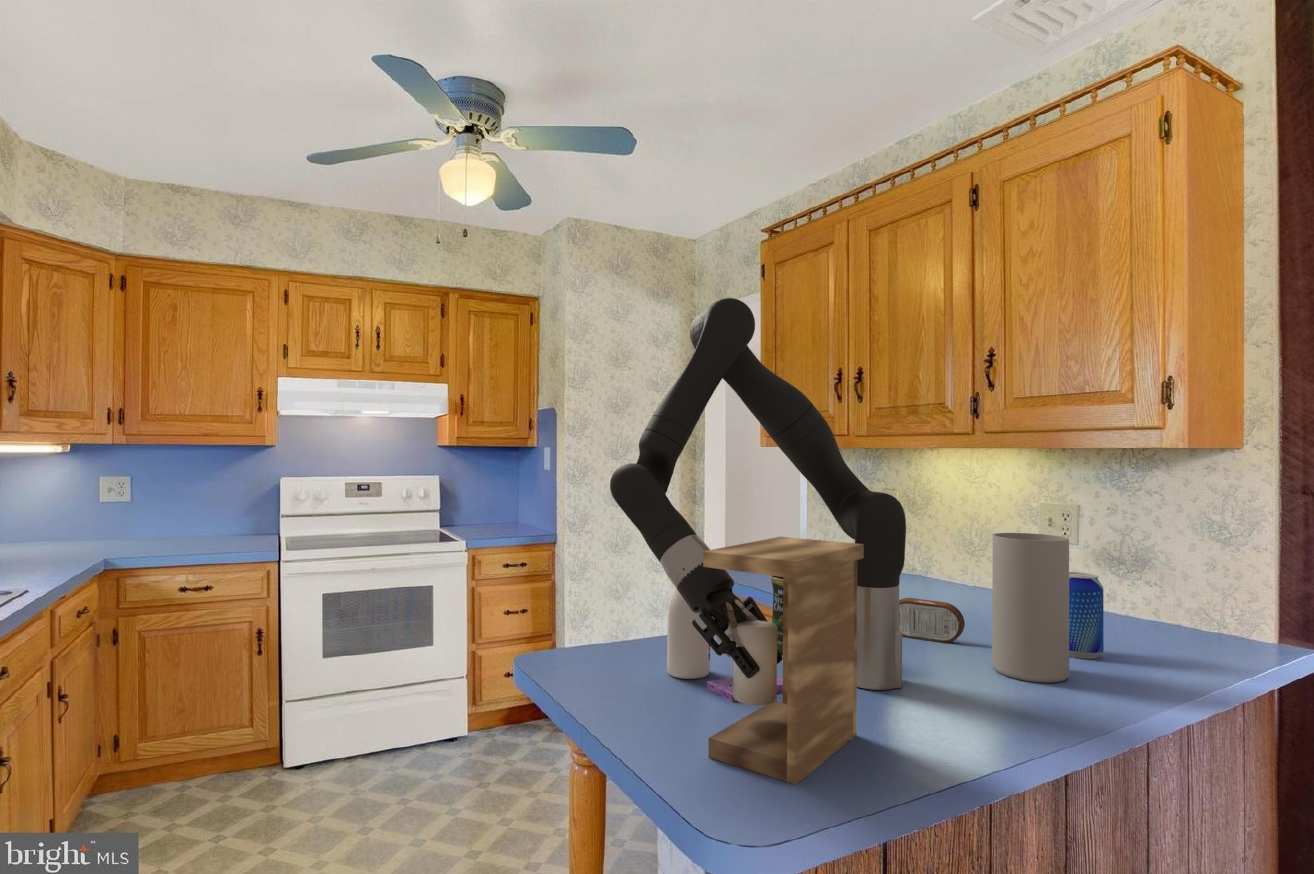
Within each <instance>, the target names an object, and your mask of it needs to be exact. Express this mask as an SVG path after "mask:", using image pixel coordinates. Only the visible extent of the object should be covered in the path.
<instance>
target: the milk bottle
mask: <svg viewBox="0 0 1314 874" xmlns="http://www.w3.org/2000/svg"><path fill="white" fill-rule="evenodd" d="M667 609H668V611H667V631H666V632H667V639H666V640H667V643H666V657H667V658H666V670H667V673H668V675H670V676H671V677H674V678H678V679H684V680H685V679H686V680H696V679H702V678H705V677H707V676H708V675H709V674H710V671H711V647H710V645H709V644H708V643H707V642H706V640H705V639H704V638H703V637H702V636H701V634H700V633H699V632H698V631H697V630H696V628H695V627H694V626H693V625H692V621H693V620H694V619H695V618H696V617H697V616H698V615H699V614H700V613H701V612H700V613H694V612H693V611H692V610H691V609H690V607H689V606H688V604H687V603H686V602H685V600H684V599H683V597H682V596H681V595H680V593H679V592H678V590H677V589H676V587H675V586H674V591H673V592H672V594H671V597H670V599H669V603H668V608H667Z"/></svg>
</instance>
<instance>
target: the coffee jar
mask: <svg viewBox="0 0 1314 874" xmlns="http://www.w3.org/2000/svg"><path fill="white" fill-rule="evenodd" d="M770 581H771V585H772V591H773V593H772V594H773V596H772V597H773V598H772V600H773V601H772V615H771V623H773V624H776V625H777V650H778V652H779V653H780V654H781V655H783V577H780V576H772V575H770Z"/></svg>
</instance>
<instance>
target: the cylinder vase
mask: <svg viewBox="0 0 1314 874" xmlns="http://www.w3.org/2000/svg"><path fill="white" fill-rule="evenodd" d="M991 559H992V575H991V576H992V578H991V579H992V580H991V581H992V585H991V586H992V593H991V594H992V595H991V597H992V598H991V599H992V603H991V604H992V605H991V606H992V609H991V610H992V613H991V614H992V619H991V620H992V622H991V623H992V627H991V628H992V631H991V632H992V634H991V636H992V637H991V639H992V641H991V644H992V646H991V649H992V650H991V651H992V653H991V655H992V656H991V660H992V664H991V665H992V667H993V669H994V670H995V671H996V672H998V673H999V674H1001V675H1003V676H1006V677H1009V678H1012V679H1016V680H1019V681H1025V682H1031V683H1040V684H1041V683H1042V684H1043V683H1044V684H1050V683H1051V684H1052V683H1053V684H1054V683H1060V682H1064V681H1065V680H1067V679H1068V678H1069V676H1070V656H1069V572H1070V538H1068V537H1066V536H1059V535H1053V534H1044V533H1028V532H1027V533H1026V532H997V533H993V534H992V558H991Z"/></svg>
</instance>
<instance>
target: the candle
mask: <svg viewBox="0 0 1314 874" xmlns="http://www.w3.org/2000/svg"><path fill="white" fill-rule="evenodd" d="M737 624H738V627H737V634H738V636H739V638H740V640H741V643H742V647H745V648H746V650H747V651H748V652H749V654H750V655H751V656H752V658H753V659H754V660H755V662H756V663H757V665H758V666H759V668H760V670H759V672H758V673H757V674H755V675H754V676H753V677H751V678H747V677H746V676H745V675H744V673H742V671H741V670H740V668H739V667H738V666H737V664H736V663H735V661H734V660H733V674H732V675H733V677H732V678H733V698H734V699H735V700H737V701H736V702H739V703H741V704H744V705H745V704H746V705H752V706H765V705H767V704H771V703H774V702H775V701H777V695H778V694H777V693H778V692H777V678H778V668H777V667H778V664H777V625H776V624H773V623H772V622H770V621H768V622H766V621H759V620H758V621H756V620H755V621H749V620H747V621H743V622H740V623H737ZM742 647H741V648H742Z"/></svg>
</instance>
